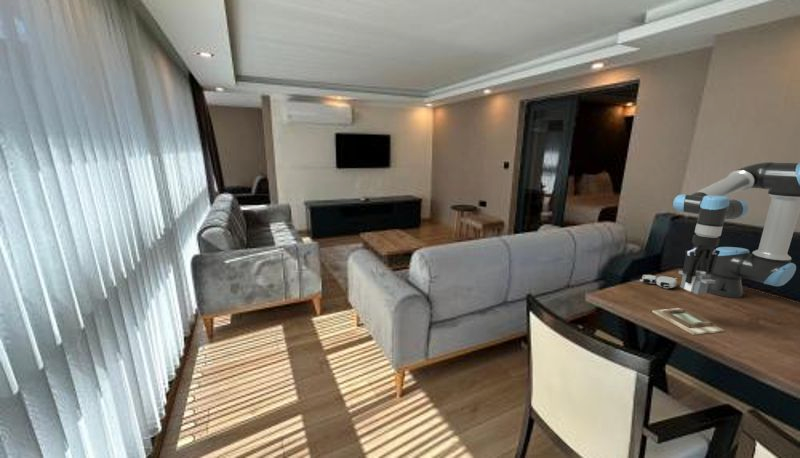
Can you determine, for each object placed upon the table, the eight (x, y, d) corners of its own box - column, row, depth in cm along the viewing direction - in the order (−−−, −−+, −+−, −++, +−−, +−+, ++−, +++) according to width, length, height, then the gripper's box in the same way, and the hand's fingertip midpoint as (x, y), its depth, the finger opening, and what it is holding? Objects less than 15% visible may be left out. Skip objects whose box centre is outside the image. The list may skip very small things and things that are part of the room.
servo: (683, 284, 136) (688, 264, 134) (711, 296, 125) (717, 274, 123) (675, 285, 135) (680, 265, 133) (702, 296, 125) (708, 275, 123)
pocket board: (679, 309, 144) (680, 304, 143) (723, 331, 126) (725, 326, 126) (652, 312, 142) (653, 307, 141) (693, 334, 124) (694, 329, 124)
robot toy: (638, 285, 171) (674, 292, 160) (639, 277, 170) (675, 284, 159) (642, 279, 179) (677, 285, 168) (643, 271, 178) (678, 277, 168)
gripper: (714, 231, 129) (701, 284, 135) (678, 233, 127) (666, 287, 133) (736, 236, 122) (720, 292, 128) (698, 238, 120) (684, 295, 126)
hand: (693, 289), depth 130 cm, fingers closed on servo, 4 cm apart
